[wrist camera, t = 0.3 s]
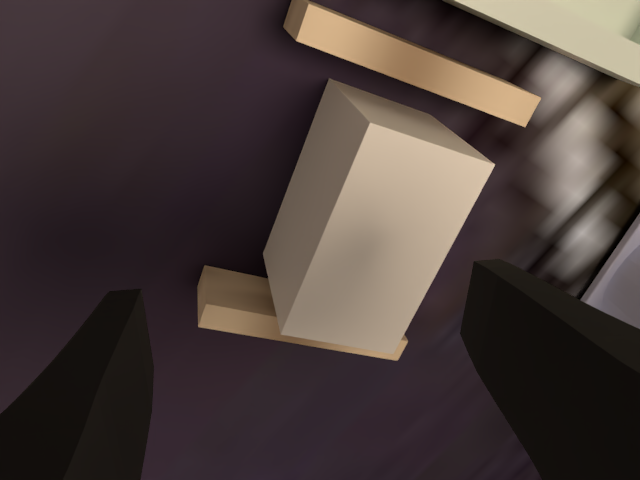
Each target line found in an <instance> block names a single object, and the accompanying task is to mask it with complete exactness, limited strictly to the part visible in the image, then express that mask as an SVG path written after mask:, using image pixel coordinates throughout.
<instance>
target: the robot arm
mask: <svg viewBox="0 0 640 480" xmlns="http://www.w3.org/2000/svg"><path fill="white" fill-rule="evenodd" d="M460 334H461V337H462V339H463V341H464V344H465V346H466V349H467V351H468V353H469V356H470V358H471V360H472V362H473V364H474V366H475V369H476V371H477V373H478V374H479V376H480V378H481V379H482V381H483V383H484V384H485V386H486V387H487V389H488V391H489V392H490V394H491V396H492V397H493V399H494V400H495V402H496V404H497V405H498V407H499V408H500V410H501V412H502V413H503V415H504V416H505V418H506V420H507V421H508V423H509V424H510V426H511V427H512V429H513V431H514V432H515V434H516V435H517V437H518V439H519V440H520V442H521V443H522V445H523V447H524V448H525V450H526V451H527V453H528V455H529V456H530V458H531V460H532V462H533V463H534V465H535V467H536V469H537V470H538V472H539V474H540V476H541V478H542V480H640V213H639V215H638V216H637V218H636V219H635V221H634V222H633V223H632V225H631V226H630V228H629V229H628V231H627V232H626V234H625V235H624V237H623V238H622V240H621V241H620V242H619V244H618V245H617V247H616V248H615V250H614V251H613V253H612V254H611V256H610V257H609V259H608V260H607V261H606V263H605V264H604V266H603V267H602V269H601V270H600V272H599V273H598V275H597V276H596V278H595V279H594V280H593V282H592V283H591V285H590V286H589V288H588V289H587V291H586V292H585V294H584V295H583V297H582V298H581V300H579V299H577V298H575V297H573V296H571V295H569V294H567V293H566V292H564V291H562V290H560V289H558V288H556V287H554V286H552V285H551V284H549V283H547V282H545V281H543V280H541V279H539V278H537V277H535V276H534V275H532V274H530V273H528V272H526V271H524V270H522V269H520V268H518V267H516V266H514V265H512V264H509V263H507V262H505V261H502V260H500V259H495V260H483V261H474V264H473V269H472V275H471V280H470V285H469V290H468V295H467V300H466V306H465V311H464V316H463V321H462V326H461V331H460ZM153 372H154V365H153V359H152V353H151V346H150V340H149V334H148V328H147V322H146V315H145V309H144V303H143V297H142V290H141V289H133V290H120V291H110V292H109V293H108V294H107V295H106V296H105V297H104V298H103V299H102V301H101V302H100V303H99V304H98V306H97V307H96V308H95V310H94V311H93V312H92V314H91V315H90V316H89V317H88V319H87V320H86V321H85V322H84V324H83V325H82V326H81V327H80V329H79V330H78V331H77V332H76V334H75V335H74V336H73V337H72V339H71V340H70V341H69V342H68V343H67V344H66V346H65V347H64V348H63V349H62V350H61V351H60V353H59V354H58V355H57V356H56V357H55V359H54V360H53V361H52V362H51V363H50V364H49V365H48V366H47V367H46V369H45V370H44V371H43V372H42V373H41V374H40V375H39V376H38V377H37V378H36V379H35V380H34V381H33V382H32V383H31V384H30V385H29V386H28V388H27V389H26V390H25V391H24V392H23V393H22V394H21V395H20V396H19V397H18V398H17V399H16V400H15V401H14V402H13V403H12V404H11V405H10V406H9V407H8V408H7V409H5V410H4V411H3V412H2V413H1V414H0V480H140V479H141V473H142V467H143V461H144V455H145V450H146V444H147V438H148V432H149V425H150V419H151V413H152V398H153Z"/></svg>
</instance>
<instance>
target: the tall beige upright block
mask: <svg viewBox="0 0 640 480" xmlns="http://www.w3.org/2000/svg"><path fill="white" fill-rule="evenodd" d="M494 166H495V164H494V163H492V162H491V161H490V160H488V159H487V158H486V157H485V156H483V155H482V154H481V153H479V152H478V151H477V150H475V149H474V148H473V147H472V146H470V145H469V144H468V143H466V142H465V141H464V140H463V139H461V138H460V137H459V136H457V135H456V134H455V133H453V132H452V131H451V130H450V129H448V128H447V127H446V126H444V125H443V124H442V123H440V122H439V121H438V120H437V119H435V118H434V117H433V116H431V115H430V114H427V113H424V112H422V111H419V110H416V109H413V108H410V107H408V106H405V105H402V104H399V103H397V102H394V101H391V100H388V99H385V98H383V97H380V96H377V95H374V94H371V93H369V92H366V91H363V90H360V89H358V88H355V87H352V86H349V85H346V84H344V83H341V82H338V81H335V80H332V79H330V78H329V80H328V82H327V85H326V88H325V90H324V93H323V96H322V98H321V101H320V104H319V106H318V109H317V111H316V114H315V117H314V119H313V122H312V125H311V127H310V130H309V133H308V135H307V138H306V141H305V143H304V146H303V149H302V151H301V154H300V157H299V159H298V162H297V164H296V167H295V170H294V172H293V175H292V178H291V180H290V183H289V186H288V188H287V191H286V194H285V196H284V199H283V202H282V204H281V207H280V210H279V212H278V215H277V217H276V220H275V223H274V225H273V228H272V231H271V233H270V236H269V239H268V241H267V244H266V247H265V249H264V252H263V257H264V261H265V266H266V270H267V275H268V279H269V284H270V289H271V293H272V298H273V302H274V307H275V311H276V316H277V320H278V325H279V329H280V334H281V335H287V336H292V337H298V338H304V339H309V340H315V341H321V342H327V343H332V344H338V345H344V346H349V347H355V348H361V349H367V350H372V351H378V352H384V353H389V354H394V352H395V350H396V348H397V346H398V344H399V343H400V341H401V339H402V337H403V335H404V333H405V331H406V330H407V328H408V326H409V324H410V322H411V320H412V318H413V317H414V315H415V313H416V311H417V309H418V307H419V305H420V304H421V302H422V300H423V298H424V296H425V294H426V292H427V291H428V289H429V287H430V285H431V283H432V281H433V279H434V278H435V276H436V274H437V272H438V270H439V268H440V266H441V265H442V263H443V261H444V259H445V257H446V255H447V253H448V252H449V250H450V248H451V246H452V244H453V242H454V240H455V239H456V237H457V235H458V233H459V231H460V229H461V227H462V226H463V224H464V222H465V220H466V218H467V216H468V214H469V213H470V211H471V209H472V207H473V205H474V203H475V201H476V200H477V198H478V196H479V194H480V192H481V190H482V188H483V187H484V185H485V183H486V181H487V179H488V177H489V175H490V174H491V172H492V170H493V168H494Z"/></svg>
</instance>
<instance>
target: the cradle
mask: <svg viewBox="0 0 640 480" xmlns="http://www.w3.org/2000/svg"><path fill="white" fill-rule="evenodd" d="M283 28H284V29H285V30H286V31H287V32H288V33H289V34H290V35H291V36H292V37H293V38H294V39H295V40H296V41H298V42H300V43H303V44H306V45H308V46H311V47H313V48H316V49H319V50H321V51H324V52H327V53H329V54H332V55H335V56H337V57H340V58H343V59H345V60H348V61H351V62H353V63H356V64H359V65H361V66H364V67H367V68H369V69H372V70H375V71H377V72H380V73H383V74H385V75H388V76H391V77H393V78H396V79H399V80H401V81H404V82H406V83H409V84H412V85H414V86H417V87H420V88H422V89H425V90H428V91H430V92H433V93H436V94H438V95H441V96H444V97H446V98H449V99H452V100H454V101H457V102H460V103H462V104H465V105H468V106H470V107H473V108H476V109H478V110H481V111H484V112H486V113H489V114H492V115H494V116H497V117H500V118H502V119H505V120H507V121H510V122H513V123H515V124H518V125H521V126H523V127H526V125H527V123H528V121H529V119H530V118H531V116H532V114H533V112H534V110H535V108H536V107H537V105H538V103H539V101H540V99H541V97H538V96H536V95H534V94H532V93H530V92H528V91H526V90H524V89H522V88H520V87H518V86H516V85H514V84H511V83H509V82H507V81H505V80H503V79H501V78H498V77H496V76H493V75H491V74H489V73H486V72H484V71H481V70H479V69H476V68H474V67H471V66H469V65H466V64H464V63H462V62H459V61H457V60H454V59H452V58H449V57H447V56H444V55H442V54H439V53H437V52H435V51H432V50H430V49H427V48H425V47H422V46H420V45H417V44H415V43H412V42H410V41H408V40H405V39H403V38H400V37H398V36H395V35H393V34H390V33H388V32H385V31H383V30H381V29H378V28H376V27H373V26H371V25H368V24H366V23H363V22H361V21H358V20H356V19H354V18H351V17H349V16H346V15H344V14H341V13H339V12H336V11H334V10H332V9H329V8H327V7H324V6H322V5H319V4H317V3H314V2H312V1H309V0H292V1H291V4H290V7H289V10H288V13H287V16H286V19H285V22H284V25H283ZM197 290H198V327H201V328H207V329H213V330H219V331H225V332H231V333H237V334H243V335H248V336H254V337H260V338H266V339H272V340H278V341H284V342H290V343H295V344H301V345H307V346H313V347H319V348H325V349H331V350H337V351H343V352H348V353H354V354H360V355H366V356H372V357H378V358H384V359H390V360H396V361H398V359H399V357H400V355H401V353H402V352H403V350H404V348H405V346H406V344H407V343H408V340H407V338H406V336H405V335H403V337H402V339H401V341H400V343H399V344H398V346H397V348H396V350H395V352H394V354H389V353H384V352H378V351H372V350H367V349H361V348H355V347H349V346H344V345H338V344H332V343H327V342H321V341H315V340H309V339H304V338H298V337H292V336H287V335H281V334H280V329H279V325H278V320H277V316H276V311H275V307H274V302H273V298H272V293H271V289H270V284H269V279H268V278H263V277H258V276H254V275H249V274H244V273H239V272H235V271H230V270H225V269H220V268H216V267H211V266H206V265H204V268H203V271H202V274H201V277H200V280H199V283H198V286H197Z"/></svg>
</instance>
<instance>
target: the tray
mask: <svg viewBox="0 0 640 480" xmlns="http://www.w3.org/2000/svg"><path fill="white" fill-rule="evenodd" d="M442 1H444V2H446V3H449V4H451V5H453V6H455V7H458V8H460V9H462V10H464V11H466V12H469V13H471V14H473V15H475V16H478V17H480V18H482V19H484V20H486V21H489V22H491V23H493V24H495V25H498V26H500V27H502V28H504V29H507V30H509V31H511V32H513V33H515V34H518V35H520V36H522V37H524V38H527V39H529V40H531V41H533V42H536V43H538V44H540V45H542V46H544V47H547V48H549V49H551V50H553V51H556V52H558V53H560V54H562V55H565V56H567V57H569V58H571V59H573V60H576V61H578V62H580V63H582V64H585V65H587V66H589V67H591V68H594V69H596V70H598V71H600V72H602V73H605V74H607V75H609V76H611V77H614V78H616V79H618V80H621V81H624V82H626V83H629V84H632V85H635V86H638V87H640V0H442Z"/></svg>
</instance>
